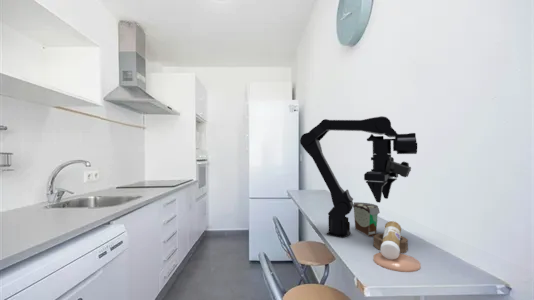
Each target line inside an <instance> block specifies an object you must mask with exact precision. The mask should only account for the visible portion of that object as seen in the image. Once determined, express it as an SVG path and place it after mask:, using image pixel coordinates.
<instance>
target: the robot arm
mask: <svg viewBox="0 0 534 300" xmlns="http://www.w3.org/2000/svg"><path fill="white" fill-rule="evenodd" d="M330 131H337V132H338V131H341V132H342V131H344V132H351V131H352V132H365V133H370V135H369V137H367V138H366V141H367V142H372V157H370V161H372V169H370V170H369V171H366V172H365V173H364V174H363V176H364V177H363V180H364V181H365V183H366V184H367V185H368V187H369V190H370V191H371V193H372V195H373V197H374V200H375V202H376V203H381V201H382V197H383V199H386V200H387V199H389V196H390V193H391V192H390V191H391V189H392V188H391V187H392V185H393V183H394V182H395V181H397V180H398V178H399V176H400V177H403V178H407V177H409V174H410V173H411V171H412V170H411V169H412V167H411V166H410V165H409V164H410V163H409V162H407V161H402V162H396V161H394V160H395V159H394V156H393V157H392V151H393V152H396V154H397V155H417V153H418V142H417V137H416V133H415V132H410V133H397V131H396V130H395V129H394V128H393V127H392V122H391V120H390V119H389V118H388V117H387V116H375V117H369V118H366V119H365V118H364V119H326V118H325V119H323V120H321V121H320V122H319V123H318V124H317V125H316V126H314V127H313V128H312V129H310V130H309V132H305V133H303V134H302V135H301V137H300V140H299V143H300V145H301V147H302V148H303V149H304V150H305V153H307V154H308V155H309V156H310V157H311V158H312V160H313V162H314V164H315V165H316V168H317V169H318V172H319V173H320V175H321V177H322V179H323V181H324V183H325V184H326V186H327V189H328V190H329V192H330V196H331V201H332V204H333V207H332V208H331V209H330V210H329V212H328V213H327V214H328V231H327V232H326V235H328V236H332V237H337V238H341V239H343V238H346V237H347V236H349V235H351V225H350V223H351V222H350V221H349V217H348V216H347V215H349V214H350V213H351V211H352V209H353V204H354V202H353V200H354V198H353V197H352V196H351V194H350V191H349V189H346V190H344V189H343V187H341V185H340V184H339V181H338V179H337V178H336V176H335V174H334V172H333V171H332V168H331V166H330V164H329V163H328V161H327V159H326V157H325V155H324V154H323V150H322V149H323V148H322V145H321V140H323V138H324V137H325V136H326V135H327V133H329V132H330ZM374 135H375V136H374ZM384 135H385V136H386V137H387V138H384V137H385V136H384Z"/></svg>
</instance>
